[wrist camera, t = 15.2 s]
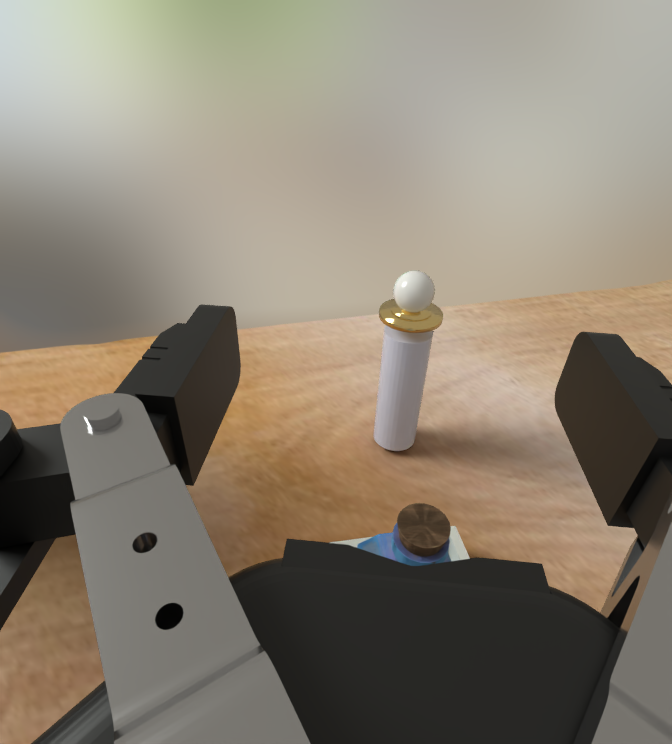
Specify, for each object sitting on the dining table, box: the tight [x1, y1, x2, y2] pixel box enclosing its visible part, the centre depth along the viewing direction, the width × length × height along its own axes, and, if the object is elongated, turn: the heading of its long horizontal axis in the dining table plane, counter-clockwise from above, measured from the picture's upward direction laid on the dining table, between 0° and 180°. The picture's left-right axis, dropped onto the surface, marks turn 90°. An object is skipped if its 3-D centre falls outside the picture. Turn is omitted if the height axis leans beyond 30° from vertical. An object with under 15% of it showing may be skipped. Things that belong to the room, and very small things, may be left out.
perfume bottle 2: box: [357, 503, 451, 566], centre depth 31 cm, size 6×6×12 cm
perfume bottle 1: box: [374, 270, 443, 451], centre depth 46 cm, size 6×6×20 cm
